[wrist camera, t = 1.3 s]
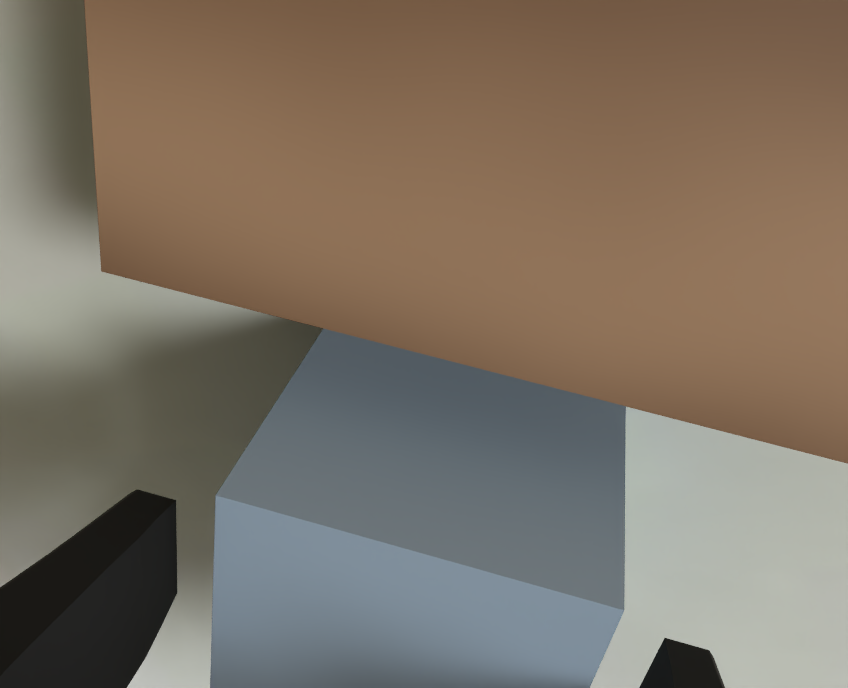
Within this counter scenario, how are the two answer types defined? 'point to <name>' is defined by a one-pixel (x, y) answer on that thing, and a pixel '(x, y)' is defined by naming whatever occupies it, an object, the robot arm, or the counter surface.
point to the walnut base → (503, 187)
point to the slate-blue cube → (419, 530)
